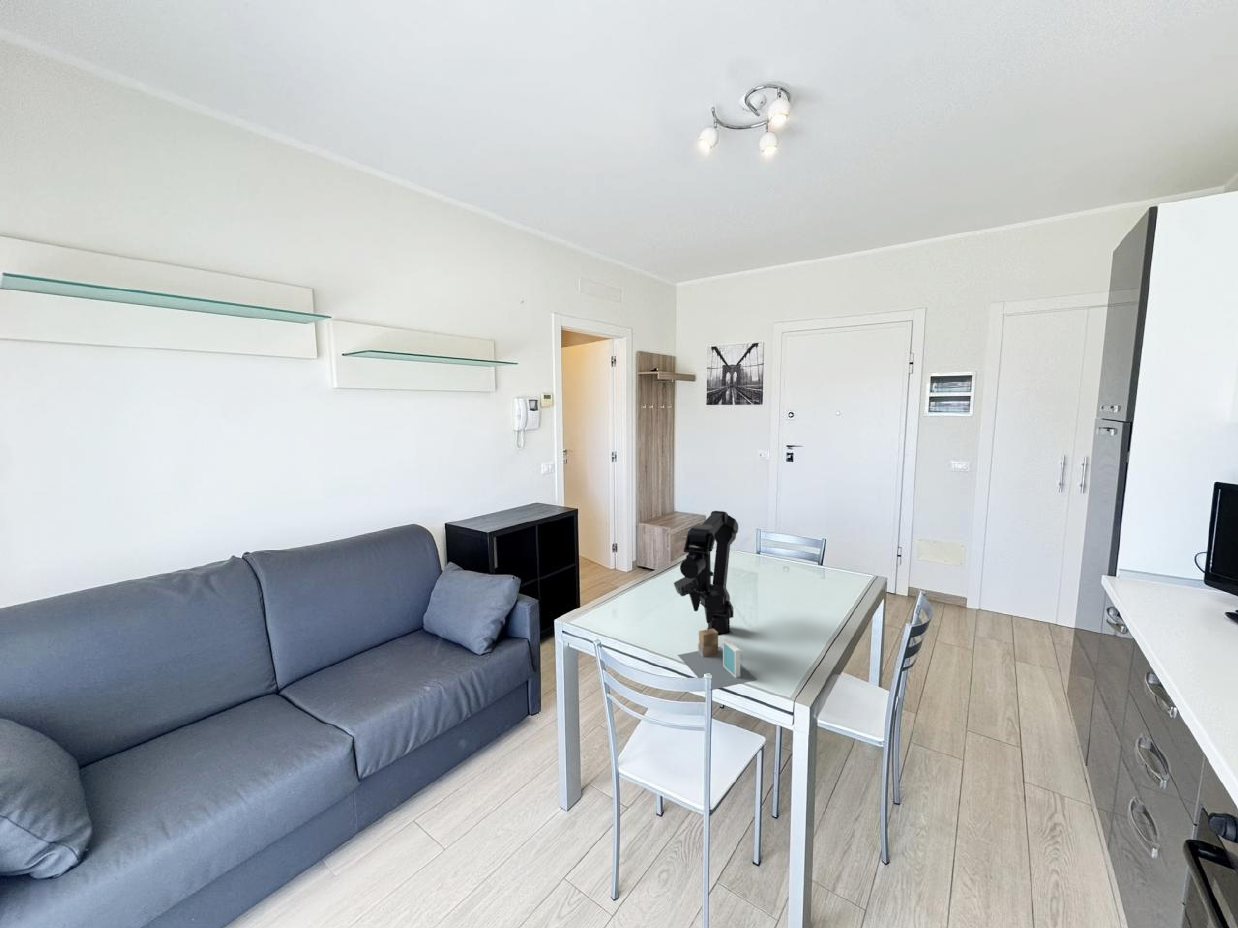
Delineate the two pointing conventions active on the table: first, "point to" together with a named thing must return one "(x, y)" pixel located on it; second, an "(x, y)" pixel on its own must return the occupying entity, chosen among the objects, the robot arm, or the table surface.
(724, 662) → the tile
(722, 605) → the robot arm
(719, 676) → the mat
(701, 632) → the block
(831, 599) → the table surface
